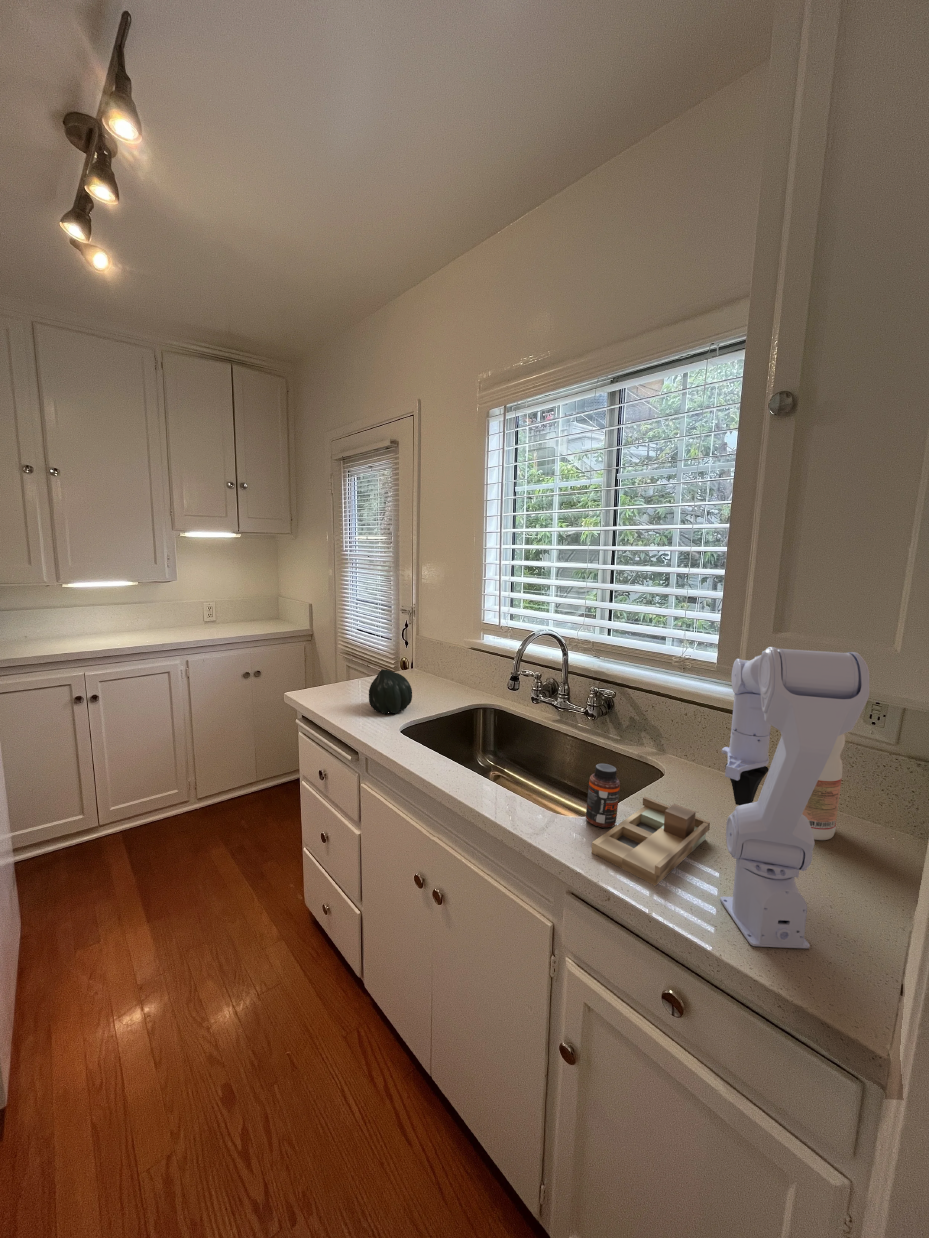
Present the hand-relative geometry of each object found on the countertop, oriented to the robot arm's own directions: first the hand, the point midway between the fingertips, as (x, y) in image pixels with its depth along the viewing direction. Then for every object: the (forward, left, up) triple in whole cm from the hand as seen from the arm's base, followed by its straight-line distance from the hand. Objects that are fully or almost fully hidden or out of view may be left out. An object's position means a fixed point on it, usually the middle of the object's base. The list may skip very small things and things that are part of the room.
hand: (743, 805), depth 86 cm
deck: (+4, +14, -10) cm, 18 cm away
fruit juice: (+12, -19, -11) cm, 25 cm away
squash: (+78, +76, -11) cm, 109 cm away
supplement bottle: (+11, +21, -11) cm, 26 cm away
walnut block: (+5, +8, -8) cm, 13 cm away
